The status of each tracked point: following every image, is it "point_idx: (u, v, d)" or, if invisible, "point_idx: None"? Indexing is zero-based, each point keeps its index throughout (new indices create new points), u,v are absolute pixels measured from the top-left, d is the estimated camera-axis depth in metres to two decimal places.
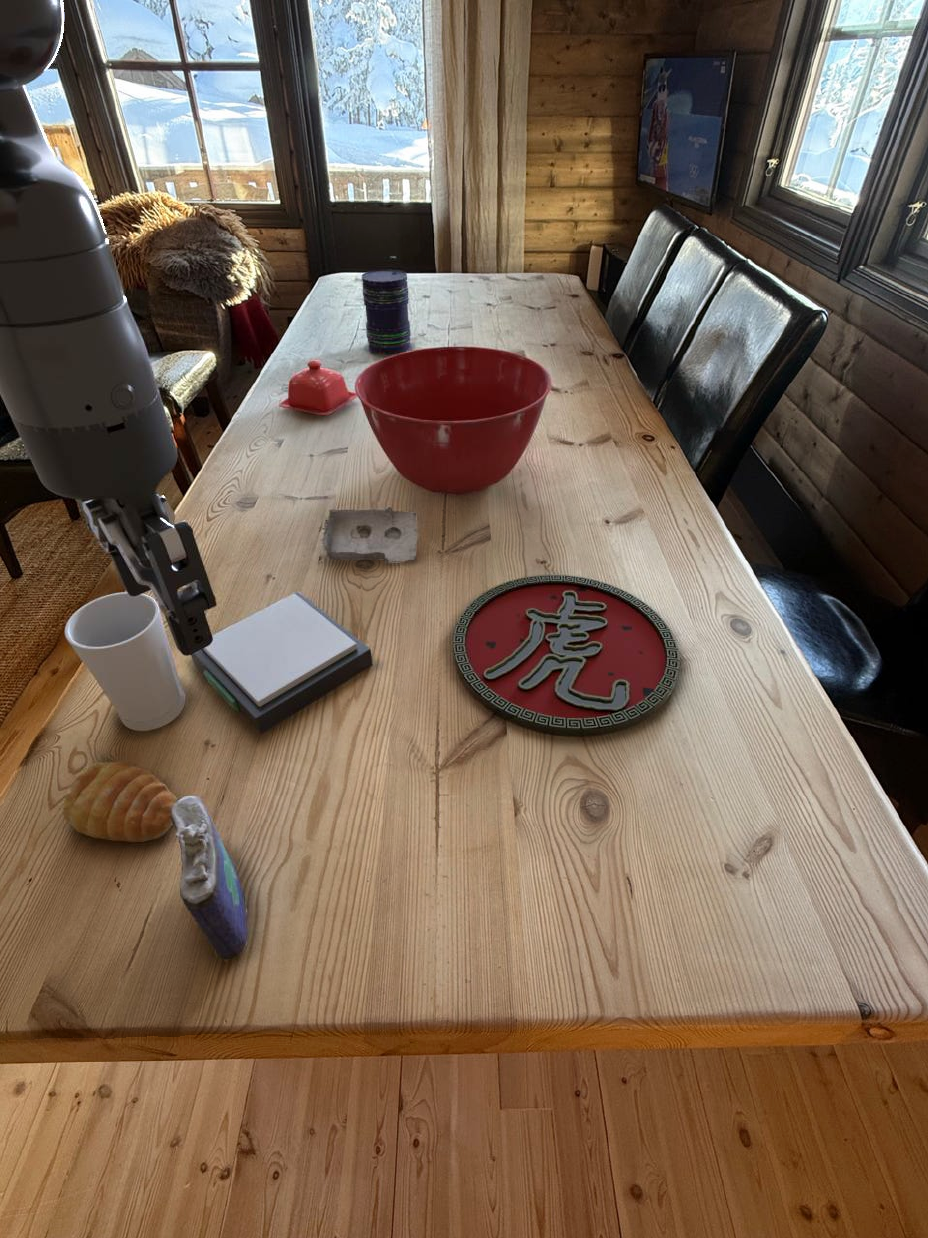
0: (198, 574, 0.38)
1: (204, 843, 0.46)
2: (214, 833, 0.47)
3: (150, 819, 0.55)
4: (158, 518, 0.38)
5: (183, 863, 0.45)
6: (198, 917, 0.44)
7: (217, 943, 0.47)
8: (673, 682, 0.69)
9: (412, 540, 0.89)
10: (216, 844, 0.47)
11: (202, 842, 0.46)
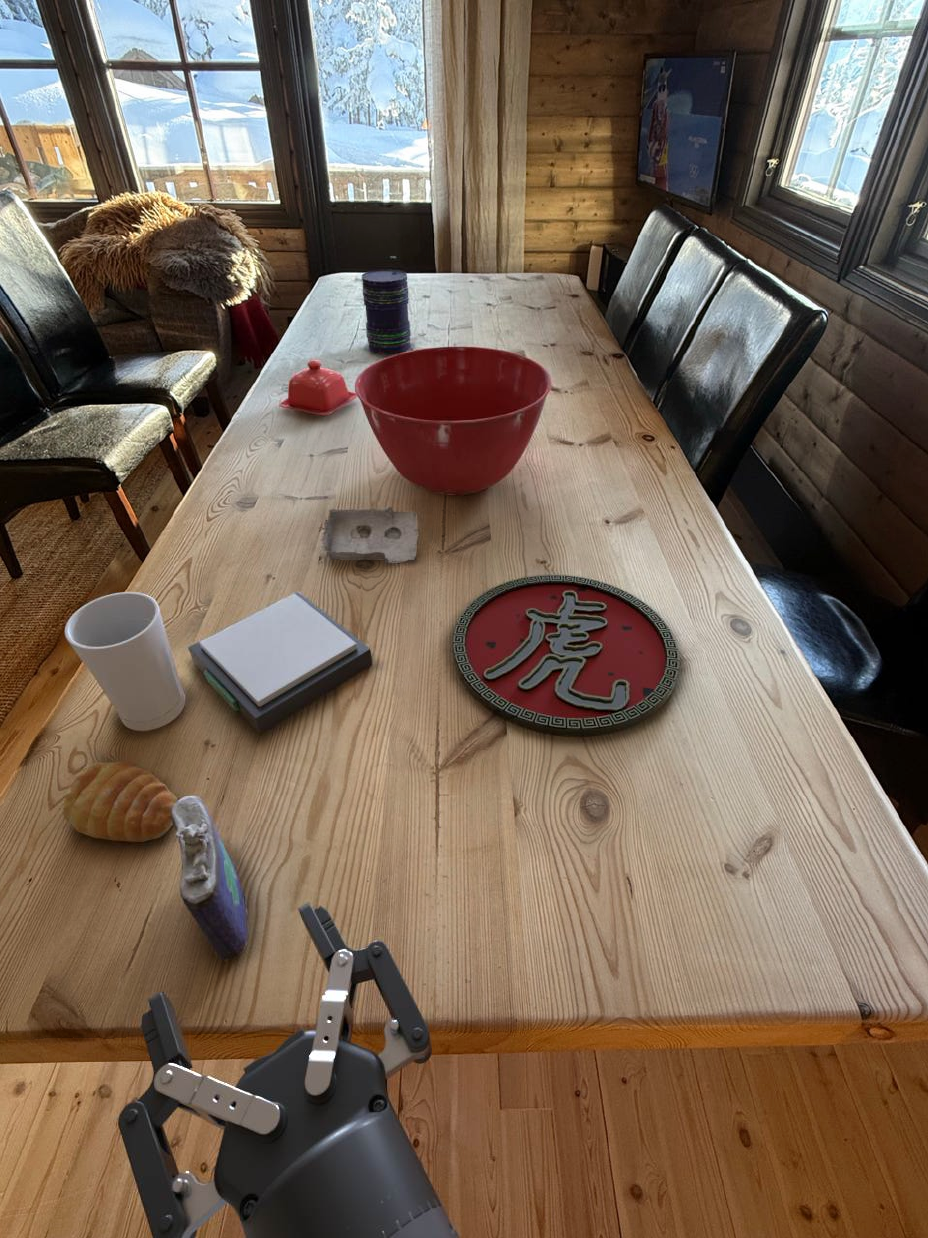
0: None
1: (204, 843, 0.46)
2: (214, 833, 0.47)
3: (150, 819, 0.55)
4: (218, 1209, 0.29)
5: (183, 863, 0.45)
6: (198, 917, 0.44)
7: (217, 943, 0.47)
8: (673, 682, 0.69)
9: (412, 540, 0.89)
10: (216, 844, 0.47)
11: (202, 842, 0.46)
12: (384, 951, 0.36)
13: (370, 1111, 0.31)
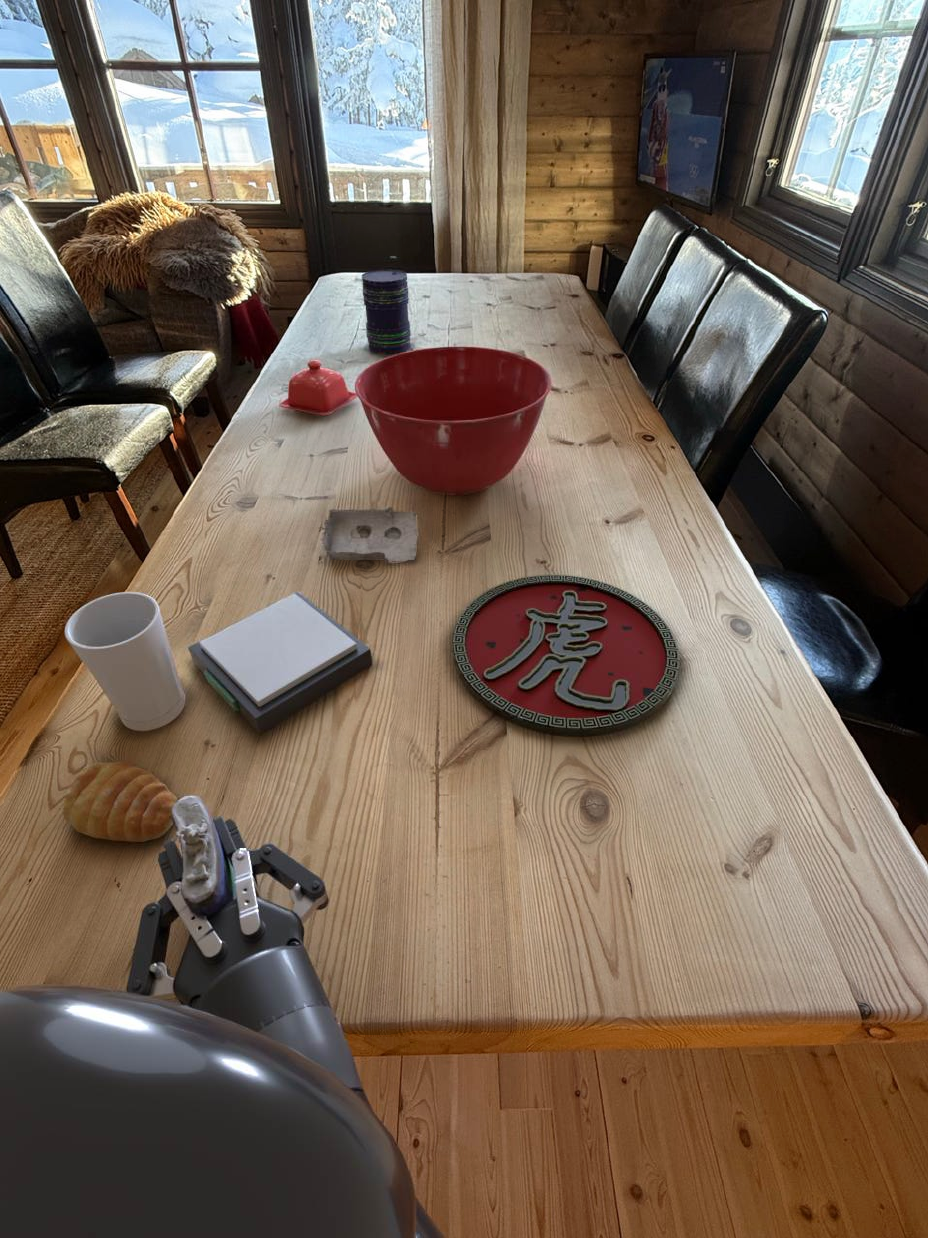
0: None
1: (205, 842, 0.46)
2: (214, 832, 0.47)
3: (150, 819, 0.55)
4: (170, 998, 0.42)
5: (184, 863, 0.45)
6: None
7: None
8: (673, 682, 0.69)
9: (412, 540, 0.89)
10: (217, 843, 0.47)
11: (203, 841, 0.46)
12: (272, 851, 0.48)
13: None
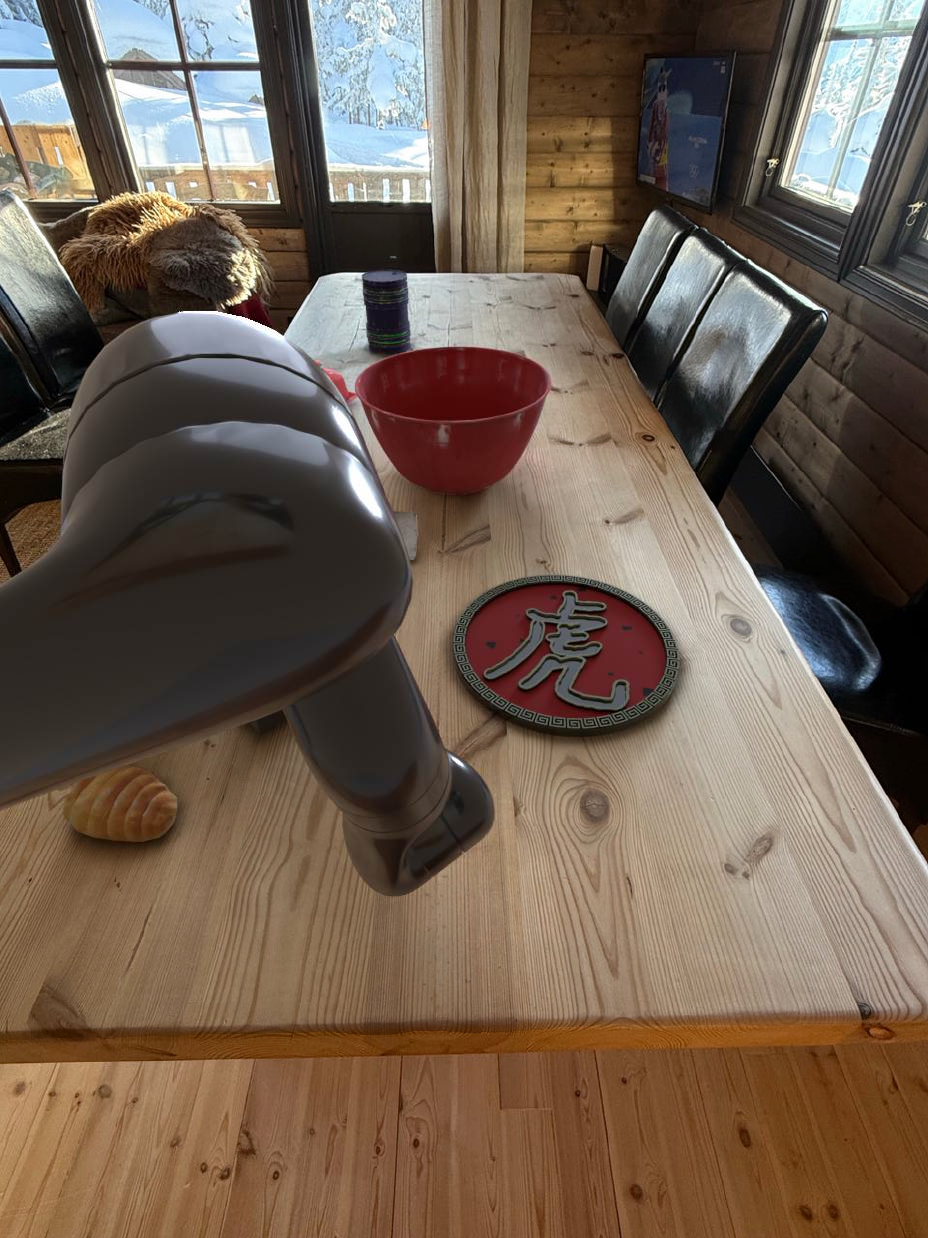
0: None
1: None
2: None
3: (150, 819, 0.55)
4: None
5: None
6: None
7: None
8: (673, 682, 0.69)
9: (412, 540, 0.89)
10: None
11: None
12: None
13: None
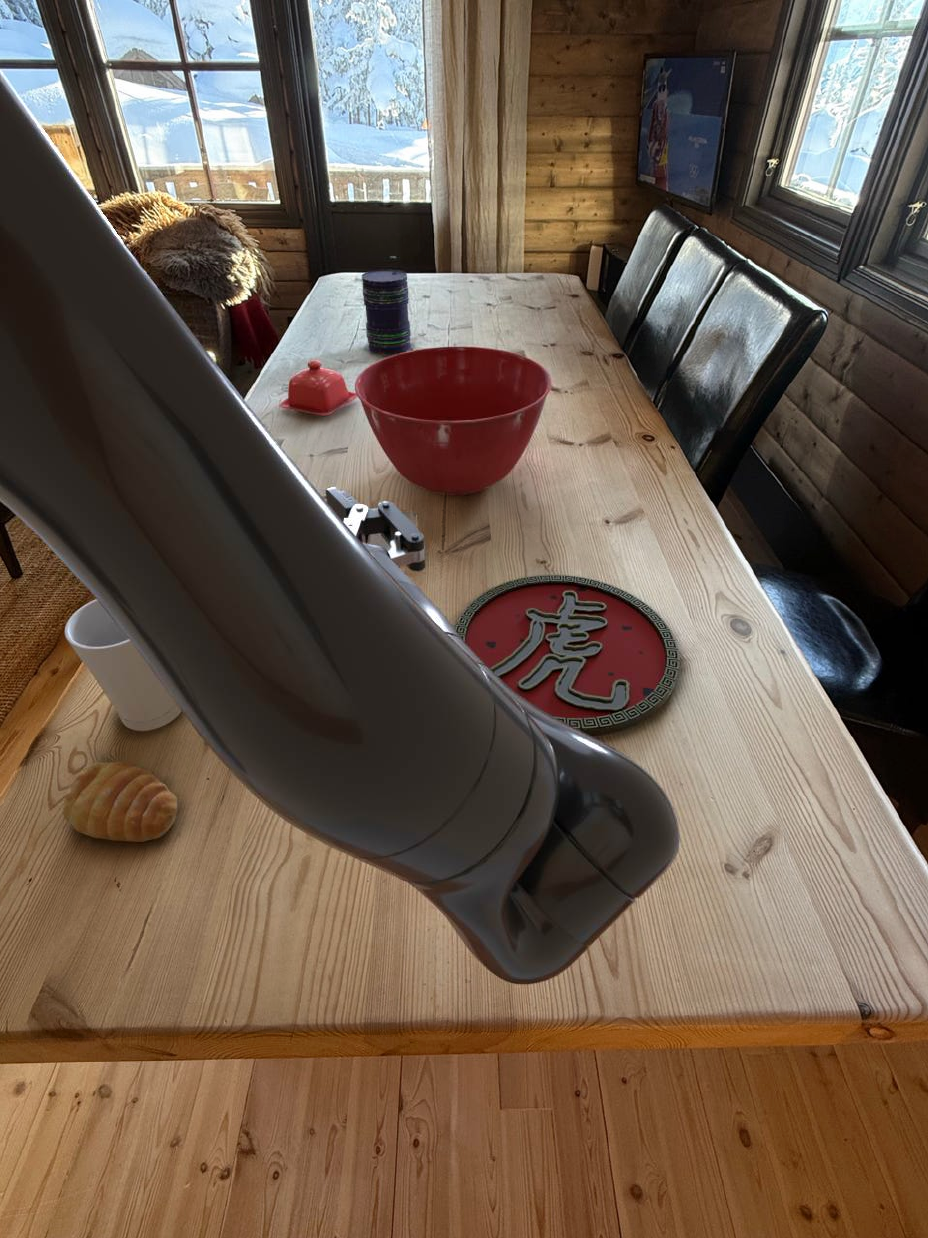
0: None
1: None
2: None
3: (150, 819, 0.55)
4: None
5: None
6: None
7: None
8: (673, 682, 0.69)
9: None
10: None
11: None
12: (391, 505, 0.48)
13: None
